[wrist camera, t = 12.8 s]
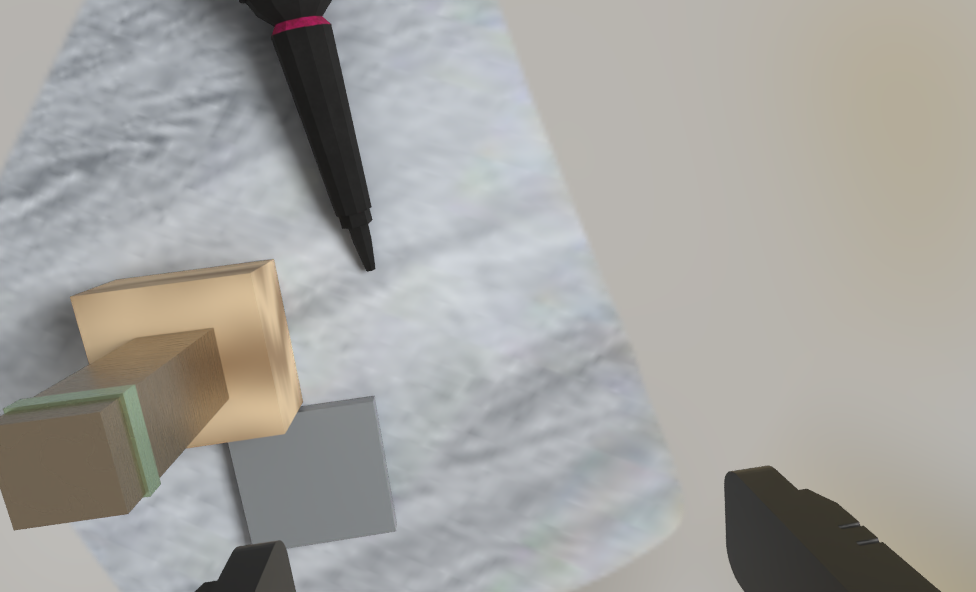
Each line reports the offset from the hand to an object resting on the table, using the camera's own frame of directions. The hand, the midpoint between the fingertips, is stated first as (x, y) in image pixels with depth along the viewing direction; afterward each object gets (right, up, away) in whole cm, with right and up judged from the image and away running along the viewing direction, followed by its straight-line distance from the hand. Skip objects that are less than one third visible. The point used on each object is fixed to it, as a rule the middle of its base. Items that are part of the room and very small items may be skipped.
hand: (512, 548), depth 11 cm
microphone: (-11, +16, +27) cm, 33 cm away
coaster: (-13, -8, +32) cm, 35 cm away
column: (-18, 0, +24) cm, 30 cm away
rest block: (-19, +1, +29) cm, 35 cm away
